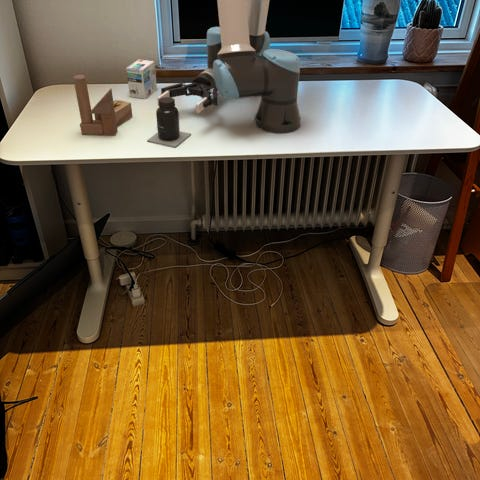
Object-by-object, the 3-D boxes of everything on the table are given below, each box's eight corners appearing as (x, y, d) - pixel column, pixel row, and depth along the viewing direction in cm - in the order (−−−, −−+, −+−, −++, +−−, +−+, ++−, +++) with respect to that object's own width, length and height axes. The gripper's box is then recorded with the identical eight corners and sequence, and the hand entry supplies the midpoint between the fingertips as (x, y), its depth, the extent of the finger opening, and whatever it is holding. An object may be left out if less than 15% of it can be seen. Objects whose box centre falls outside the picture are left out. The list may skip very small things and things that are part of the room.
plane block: (132, 116, 170) (129, 93, 165) (111, 130, 161) (108, 106, 156) (117, 113, 171) (114, 91, 167) (96, 127, 163) (92, 103, 158)
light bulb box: (145, 99, 182) (142, 69, 176) (128, 97, 184) (125, 67, 177) (157, 89, 191) (155, 60, 184) (141, 87, 192) (138, 58, 185)
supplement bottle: (155, 140, 154) (152, 103, 147) (161, 131, 160) (157, 94, 152) (177, 142, 154) (174, 104, 146) (182, 132, 159) (180, 96, 152)
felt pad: (191, 134, 159) (191, 133, 159) (175, 148, 152) (175, 146, 151) (163, 129, 162) (163, 127, 162) (147, 141, 155) (147, 140, 155)
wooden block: (115, 136, 158) (106, 79, 147) (81, 134, 158) (70, 78, 147) (118, 131, 161) (110, 75, 150) (84, 129, 161) (74, 74, 150)
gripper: (239, 99, 171) (214, 123, 155) (175, 88, 178) (144, 110, 162) (240, 77, 166) (213, 99, 150) (173, 67, 173) (141, 87, 158)
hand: (177, 105), depth 156 cm, fingers open, 13 cm apart
